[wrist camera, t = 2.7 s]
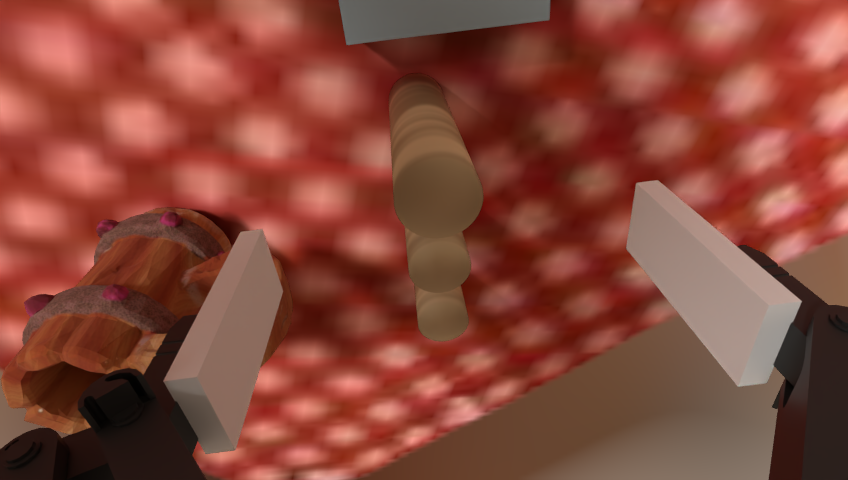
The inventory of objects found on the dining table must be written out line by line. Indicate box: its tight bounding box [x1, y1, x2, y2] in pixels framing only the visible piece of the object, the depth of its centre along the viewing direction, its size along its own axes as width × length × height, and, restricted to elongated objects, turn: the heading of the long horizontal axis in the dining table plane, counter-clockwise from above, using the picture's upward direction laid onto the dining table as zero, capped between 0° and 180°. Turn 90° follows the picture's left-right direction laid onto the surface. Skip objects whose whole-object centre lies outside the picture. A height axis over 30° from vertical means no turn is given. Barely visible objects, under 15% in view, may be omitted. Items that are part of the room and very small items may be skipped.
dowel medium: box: [405, 227, 471, 293], centre depth 30 cm, size 4×4×9 cm
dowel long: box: [389, 73, 483, 238], centre depth 25 cm, size 4×4×14 cm
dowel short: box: [414, 284, 469, 341], centre depth 36 cm, size 4×4×6 cm
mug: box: [1, 207, 293, 434], centre depth 28 cm, size 15×8×15 cm, turn 99°
